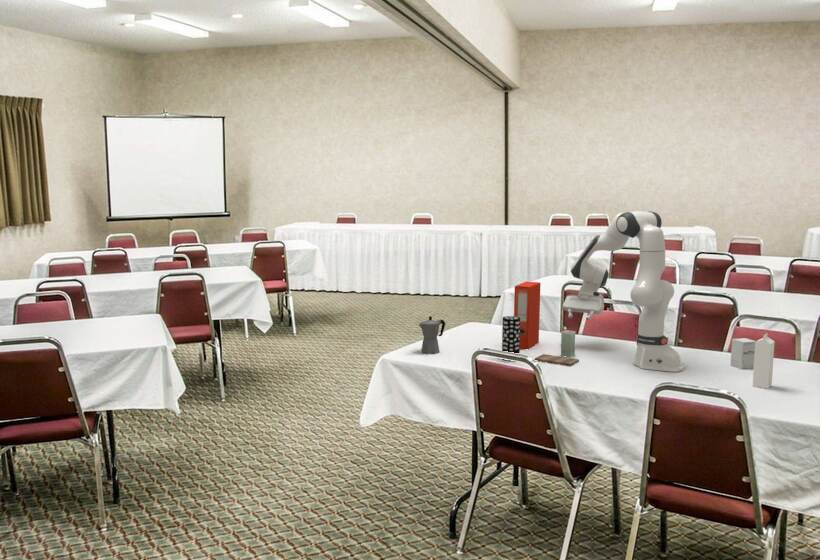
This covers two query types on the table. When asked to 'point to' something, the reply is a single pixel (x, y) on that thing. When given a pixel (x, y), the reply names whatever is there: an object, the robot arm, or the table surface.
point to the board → (557, 360)
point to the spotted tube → (511, 334)
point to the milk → (763, 362)
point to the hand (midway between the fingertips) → (578, 318)
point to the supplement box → (743, 353)
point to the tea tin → (568, 343)
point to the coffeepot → (431, 335)
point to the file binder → (528, 312)
